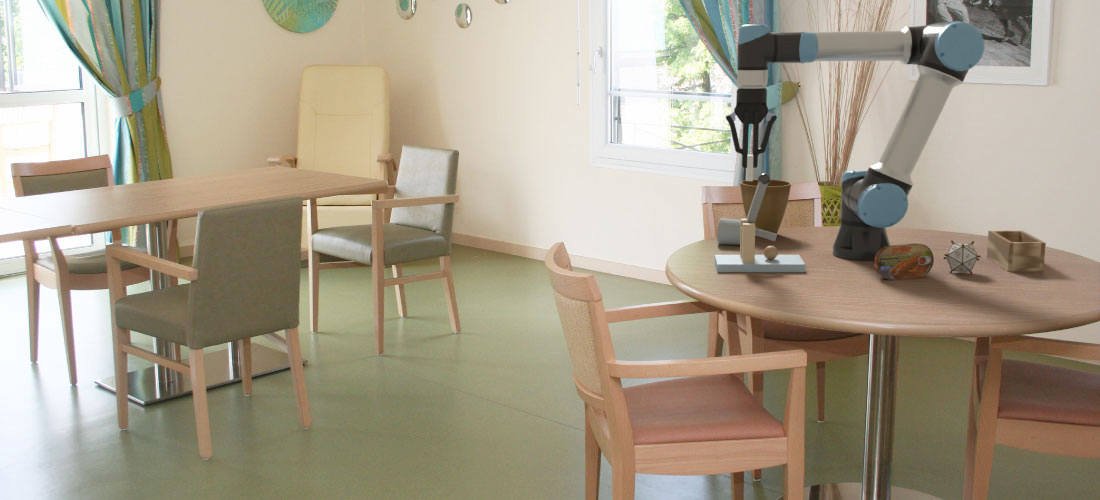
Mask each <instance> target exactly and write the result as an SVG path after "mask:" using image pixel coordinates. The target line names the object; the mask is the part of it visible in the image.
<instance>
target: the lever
mask: <svg viewBox="0 0 1100 500" xmlns="http://www.w3.org/2000/svg"><path fill="white" fill-rule="evenodd" d="M757 179H758V185H757V188H756V191H755V194H754V197H753V200H752V203H751V207H750V210H749V213H748V216H747V219H746V218H745V219H746V222H745V223H755V220H756V217H757V214H758V211H759V208H760V205H761V202H762V199H763V196H764V193H765V190H766V187H767V185H768V184H769V183H770V181H771V180H772V179H771V176H770V175H769V174H768V173H766V172H764V173H760V174H759V176H758V177H757ZM741 230H742V232H743V225H742V227H741ZM755 235H756V236H755V237H758V236H759V238H760V237H761V238H763V239H766V240H769V241H773V242H776V240H777V237H778V233H777V234H775V233H772V232H768V231H765V230H761V229H758V228H755Z"/></svg>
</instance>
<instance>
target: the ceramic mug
mask: <svg viewBox="0 0 1100 500" xmlns="http://www.w3.org/2000/svg"><path fill="white" fill-rule="evenodd" d="M740 229H741V219H734V218H726V217H720V218H719V221H718V225H717V235H716V236H717V237H716V239H717V244H718V245H726V246H727V245H728V246H740Z"/></svg>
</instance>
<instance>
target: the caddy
mask: <svg viewBox="0 0 1100 500" xmlns="http://www.w3.org/2000/svg"><path fill="white" fill-rule="evenodd" d="M987 234H988V235H987V249H986V258H987V259H988V260H990V261H992V262H993V263H995V264H996V265H997V266H999V267H1000V268H1001V269H1003V270H1005V271H1007V272H1044V271H1045V270H1044V269H1045V268H1044V267H1045V266H1044V265H1045V255H1046V244H1047V243H1046V242H1044V241H1043V240H1041V239H1039V238H1037V237H1035V236H1033V235H1032V234H1030V233H1028V232H1026V231H1025V230H988V233H987Z"/></svg>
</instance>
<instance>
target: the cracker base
mask: <svg viewBox="0 0 1100 500" xmlns="http://www.w3.org/2000/svg"><path fill="white" fill-rule="evenodd" d="M740 220H741V227H742V225H743V232H742V230H741V229H740V245H739V246H740V247H739V248H740V249H739V254H714V264H715V265H714V266H715V268H716V272H717V273H806V263H805V262H804V259H802V257H801V256H800V254H779V251H778V249H777V248H776V247H775V246H774V245H768V246H766V247H765V248H764V250H763V254H756V236H755V223H745V222H746V218H740Z"/></svg>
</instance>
